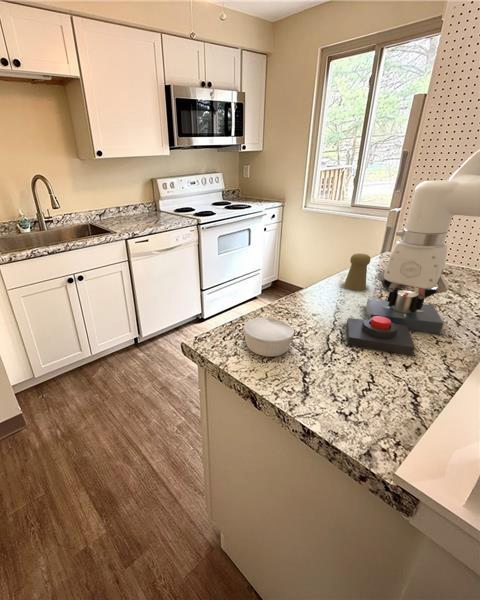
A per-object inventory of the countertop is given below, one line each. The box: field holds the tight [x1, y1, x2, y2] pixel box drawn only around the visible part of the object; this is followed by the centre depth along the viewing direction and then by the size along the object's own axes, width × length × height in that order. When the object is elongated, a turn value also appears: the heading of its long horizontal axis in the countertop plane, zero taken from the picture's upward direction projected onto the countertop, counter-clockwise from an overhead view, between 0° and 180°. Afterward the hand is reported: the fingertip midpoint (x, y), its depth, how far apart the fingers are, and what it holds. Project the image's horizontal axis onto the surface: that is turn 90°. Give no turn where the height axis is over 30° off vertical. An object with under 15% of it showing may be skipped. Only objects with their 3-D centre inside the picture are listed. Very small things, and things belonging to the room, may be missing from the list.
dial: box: [393, 290, 418, 313], centre depth 78 cm, size 4×4×5 cm
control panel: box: [365, 298, 444, 335], centre depth 80 cm, size 14×10×3 cm
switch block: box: [345, 317, 416, 356], centre depth 73 cm, size 12×10×4 cm
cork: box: [343, 253, 371, 292], centre depth 98 cm, size 6×6×11 cm
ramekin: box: [242, 316, 295, 358], centre depth 75 cm, size 11×11×5 cm
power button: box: [370, 316, 391, 329], centre depth 72 cm, size 4×4×2 cm
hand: (403, 307), depth 79 cm, fingers closed on dial, 4 cm apart
